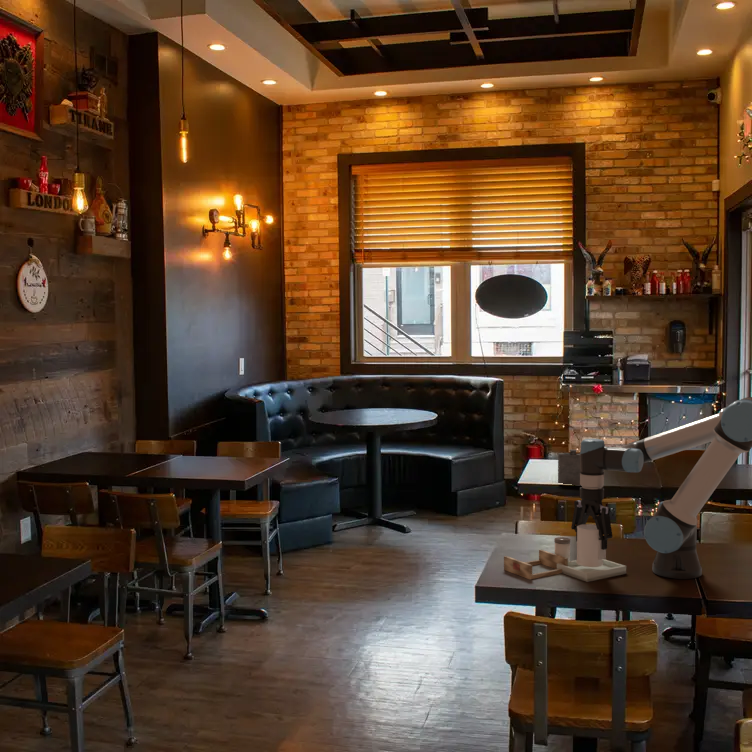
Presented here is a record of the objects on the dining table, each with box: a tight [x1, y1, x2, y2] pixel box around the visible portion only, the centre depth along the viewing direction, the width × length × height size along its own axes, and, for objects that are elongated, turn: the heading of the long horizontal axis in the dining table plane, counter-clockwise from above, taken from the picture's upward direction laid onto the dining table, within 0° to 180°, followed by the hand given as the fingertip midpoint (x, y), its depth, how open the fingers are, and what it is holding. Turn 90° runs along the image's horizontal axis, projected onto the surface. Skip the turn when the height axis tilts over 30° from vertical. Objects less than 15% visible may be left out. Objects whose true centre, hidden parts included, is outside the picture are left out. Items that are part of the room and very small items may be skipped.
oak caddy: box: [503, 549, 568, 580], centre depth 294 cm, size 13×16×4 cm
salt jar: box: [553, 536, 571, 561], centre depth 300 cm, size 5×5×9 cm
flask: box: [557, 449, 580, 485], centre depth 439 cm, size 4×14×18 cm, turn 78°
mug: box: [575, 523, 603, 567], centre depth 292 cm, size 12×8×12 cm
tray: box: [557, 559, 627, 583], centre depth 292 cm, size 14×17×2 cm
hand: (591, 555), depth 292 cm, fingers closed on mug, 9 cm apart
